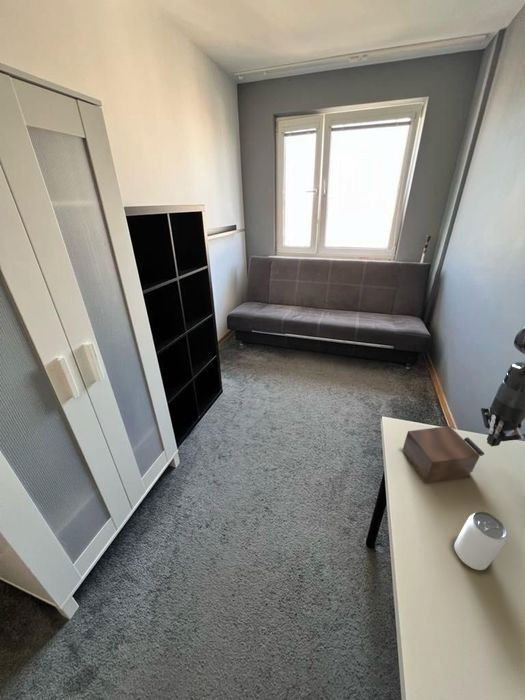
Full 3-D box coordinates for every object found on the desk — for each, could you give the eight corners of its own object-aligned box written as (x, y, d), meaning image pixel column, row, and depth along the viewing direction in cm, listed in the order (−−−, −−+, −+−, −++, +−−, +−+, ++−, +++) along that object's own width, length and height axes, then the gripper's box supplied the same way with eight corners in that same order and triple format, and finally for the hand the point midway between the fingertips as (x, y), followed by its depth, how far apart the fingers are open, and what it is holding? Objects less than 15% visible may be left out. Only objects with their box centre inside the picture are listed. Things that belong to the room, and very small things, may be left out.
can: (448, 538, 66) (463, 508, 61) (475, 539, 66) (494, 509, 60) (464, 570, 61) (483, 541, 55) (495, 571, 60) (517, 541, 55)
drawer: (459, 443, 90) (465, 427, 87) (485, 470, 81) (493, 454, 78) (410, 449, 89) (415, 433, 85) (431, 477, 80) (438, 461, 76)
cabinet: (441, 445, 91) (449, 425, 87) (468, 476, 81) (478, 456, 76) (402, 450, 89) (407, 431, 85) (424, 482, 79) (432, 462, 75)
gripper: (551, 413, 70) (523, 460, 78) (504, 383, 82) (485, 427, 90) (524, 417, 69) (499, 464, 78) (481, 386, 81) (463, 429, 89)
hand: (491, 444), depth 84 cm, fingers closed
